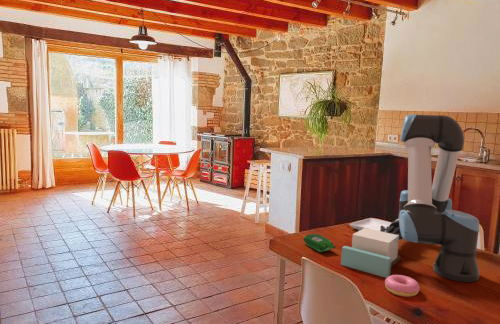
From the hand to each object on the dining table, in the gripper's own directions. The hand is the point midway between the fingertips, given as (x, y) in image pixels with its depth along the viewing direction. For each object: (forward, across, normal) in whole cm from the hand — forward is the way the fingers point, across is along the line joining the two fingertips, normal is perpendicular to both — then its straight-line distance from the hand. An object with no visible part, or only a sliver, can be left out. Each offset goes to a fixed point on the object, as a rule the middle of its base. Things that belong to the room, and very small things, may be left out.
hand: (382, 240), depth 158 cm
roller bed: (+6, 0, -7) cm, 10 cm away
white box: (+8, 0, -5) cm, 9 cm away
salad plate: (-37, +14, -8) cm, 41 cm away
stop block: (+17, 0, -7) cm, 19 cm away
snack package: (+8, +24, -8) cm, 27 cm away
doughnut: (+25, -16, -8) cm, 31 cm away
